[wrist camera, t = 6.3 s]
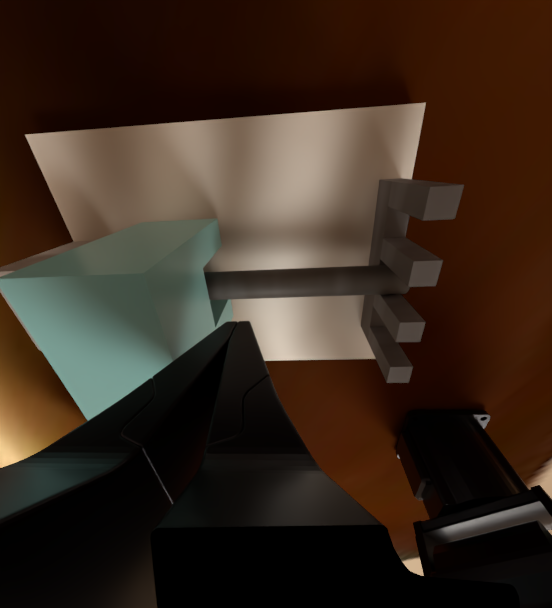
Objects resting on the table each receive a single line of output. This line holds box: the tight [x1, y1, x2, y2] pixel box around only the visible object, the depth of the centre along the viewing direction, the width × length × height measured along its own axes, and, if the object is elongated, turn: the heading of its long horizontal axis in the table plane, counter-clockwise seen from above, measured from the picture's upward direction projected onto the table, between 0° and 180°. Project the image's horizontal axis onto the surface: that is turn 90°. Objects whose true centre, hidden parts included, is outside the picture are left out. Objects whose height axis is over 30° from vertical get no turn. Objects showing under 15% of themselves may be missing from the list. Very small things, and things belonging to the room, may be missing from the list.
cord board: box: [0, 103, 464, 383], centre depth 13 cm, size 18×14×6 cm
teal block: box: [0, 218, 233, 420], centre depth 11 cm, size 4×6×7 cm
